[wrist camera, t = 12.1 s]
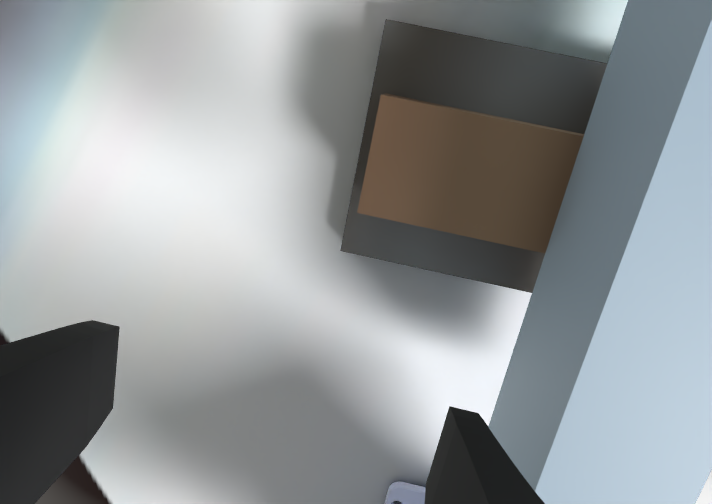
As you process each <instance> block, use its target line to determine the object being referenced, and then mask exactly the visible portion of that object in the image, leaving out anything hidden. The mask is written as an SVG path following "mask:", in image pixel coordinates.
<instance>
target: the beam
mask: <svg viewBox="0 0 712 504" xmlns="http://www.w3.org/2000/svg"><path fill="white" fill-rule="evenodd" d="M489 429H490V430H491V432H492V433H493V435H494V436H495V438H496V439H497V440H498V442H499V443H500V445H501V446H502V448H503V449H504V450H505V452H506V453H507V455H508V456H509V457H510V459H511V460H512V462H513V463H514V464H515V466H516V467H517V468H518V470H519V471H520V473H521V474H522V475H523V477H524V478H525V479H526V480H527V482H528V483H529V484H530V486H531V487H532V488H533V489H534V491H535V492H536V493H537V495H538V496H539V497H540V498H541V499H542V501H543V502H544V503H545V504H695V503H696V501H697V499H698V497H699V495H700V493H701V491H702V489H703V487H704V484H705V482H706V480H707V478H708V476H709V474H710V472H711V470H712V0H628V3H627V6H626V9H625V12H624V15H623V18H622V21H621V24H620V27H619V30H618V33H617V36H616V39H615V42H614V45H613V48H612V51H611V55H610V58H609V61H608V64H607V67H606V70H605V73H604V76H603V79H602V82H601V85H600V88H599V91H598V94H597V97H596V100H595V103H594V106H593V109H592V112H591V116H590V119H589V122H588V125H587V128H586V131H585V134H584V137H583V140H582V143H581V146H580V149H579V152H578V155H577V158H576V161H575V164H574V167H573V170H572V173H571V177H570V180H569V183H568V186H567V189H566V192H565V195H564V198H563V201H562V204H561V207H560V210H559V213H558V216H557V219H556V222H555V225H554V228H553V231H552V234H551V238H550V241H549V244H548V247H547V250H546V253H545V256H544V259H543V262H542V265H541V268H540V271H539V274H538V277H537V280H536V283H535V286H534V289H533V292H532V295H531V298H530V302H529V305H528V308H527V311H526V314H525V317H524V320H523V323H522V326H521V329H520V332H519V335H518V338H517V341H516V344H515V347H514V350H513V353H512V356H511V359H510V363H509V366H508V369H507V372H506V375H505V378H504V381H503V384H502V387H501V390H500V393H499V396H498V399H497V402H496V405H495V408H494V411H493V414H492V417H491V420H490V424H489Z"/></svg>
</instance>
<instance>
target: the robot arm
mask: <svg viewBox="0 0 712 504" xmlns="http://www.w3.org/2000/svg"><path fill="white" fill-rule="evenodd" d="M118 338H119V327H118V326H114V325H110V324H106V323H101V322H97V321H93V320H92V321H86V322H81V323H77V324H73V325H69V326H66V327H62V328H58V329H55V330H52V331H48V332H45V333H41V334H38V335H35V336H31V337H28V338H24V339H21V340H18V341H14V342H11V343H7V344H4V345H1V346H0V504H35V503H36V502H37V500H38V499H39V498H40V497H41V496H42V495H43V494H44V493H45V492H46V491H47V490H48V488H49V487H50V486H51V485H52V484H53V483H54V482H55V481H56V480H57V479H58V478H59V476H60V475H61V474H62V473H63V472H64V471H65V470H66V469H67V468H68V467H69V465H70V464H71V463H72V462H73V461H74V460H75V459H76V458H77V457H78V455H79V454H80V453H81V452H82V451H83V450H84V449H85V447H86V446H87V445H88V443H89V442H90V441H91V439H92V438H93V436H94V435H95V434H96V432H97V431H98V429H99V428H100V427H101V425H102V424H103V422H104V421H105V419H106V418H107V416H108V415H109V413H110V412H111V410H112V409H113V400H114V387H115V375H116V363H117V351H118ZM394 501H399V502H401V504H545V503H544V502H543V501H542V499H541V498H540V497H539V496H538V495H537V493H536V492H535V491H534V489H533V488H532V487H531V486H530V484H529V483H528V482H527V480H526V479H525V478H524V477H523V475H522V474H521V473H520V471H519V470H518V468H517V467H516V466H515V464H514V463H513V462H512V460H511V459H510V457H509V456H508V455H507V453H506V452H505V450H504V449H503V448H502V446H501V445H500V443H499V442H498V440H497V439H496V438H495V436H494V435H493V433H492V432H491V430H490V429H489V427H488V426H487V425H486V423H485V422H484V420H483V419H482V418H481V416H480V415H479V414H478V413H475V412H471V411H466V410H462V409H458V408H454V407H449V410H448V413H447V417H446V420H445V423H444V427H443V430H442V433H441V436H440V440H439V443H438V446H437V450H436V453H435V456H434V460H433V463H432V466H431V470H430V473H429V476H428V480H427V483H426V487H422V486H418V485H414V484H410V483H405V482H399V481H397V482H394V483H392V484H391V485H390V486H389V488H388V492H387V496H386V500H385V504H395V503H393V502H394Z"/></svg>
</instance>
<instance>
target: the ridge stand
mask: <svg viewBox="0 0 712 504" xmlns="http://www.w3.org/2000/svg"><path fill="white" fill-rule="evenodd" d="M606 67H607V63H602V62H597V61H592V60H587V59H582V58H577V57H572V56H567V55H562V54H557V53H552V52H547V51H542V50H537V49H532V48H527V47H522V46H517V45H512V44H507V43H502V42H497V41H492V40H487V39H482V38H477V37H472V36H467V35H462V34H457V33H452V32H447V31H442V30H437V29H432V28H427V27H422V26H417V25H412V24H407V23H402V22H397V21H392V20H387V19H386V21H385V26H384V31H383V36H382V42H381V47H380V52H379V57H378V62H377V67H376V72H375V77H374V82H373V88H372V93H371V98H370V103H369V108H368V113H367V118H366V123H365V128H364V133H363V139H362V144H361V149H360V154H359V159H358V164H357V169H356V174H355V179H354V184H353V190H352V195H351V200H350V205H349V210H348V215H347V220H346V225H345V230H344V236H343V241H342V246H341V251H344V252H348V253H353V254H357V255H362V256H367V257H371V258H376V259H380V260H385V261H389V262H394V263H398V264H403V265H408V266H412V267H417V268H421V269H426V270H430V271H435V272H439V273H444V274H448V275H453V276H458V277H462V278H467V279H471V280H476V281H480V282H485V283H489V284H494V285H499V286H503V287H508V288H512V289H517V290H521V291H526V292H530V293H532V292H533V289H534V286H535V283H536V280H537V277H538V274H539V271H540V268H541V265H542V262H543V259H544V256H545V253H546V250H547V247H548V244H549V241H550V238H551V234H552V231H553V228H554V225H555V222H556V219H557V216H558V213H559V210H560V207H561V204H562V201H563V198H564V195H565V192H566V189H567V186H568V183H569V180H570V177H571V173H572V170H573V167H574V164H575V161H576V158H577V155H578V152H579V149H580V146H581V143H582V140H583V137H584V134H585V131H586V128H587V125H588V122H589V119H590V116H591V112H592V109H593V106H594V103H595V100H596V97H597V94H598V91H599V88H600V85H601V82H602V79H603V76H604V73H605V70H606Z"/></svg>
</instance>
